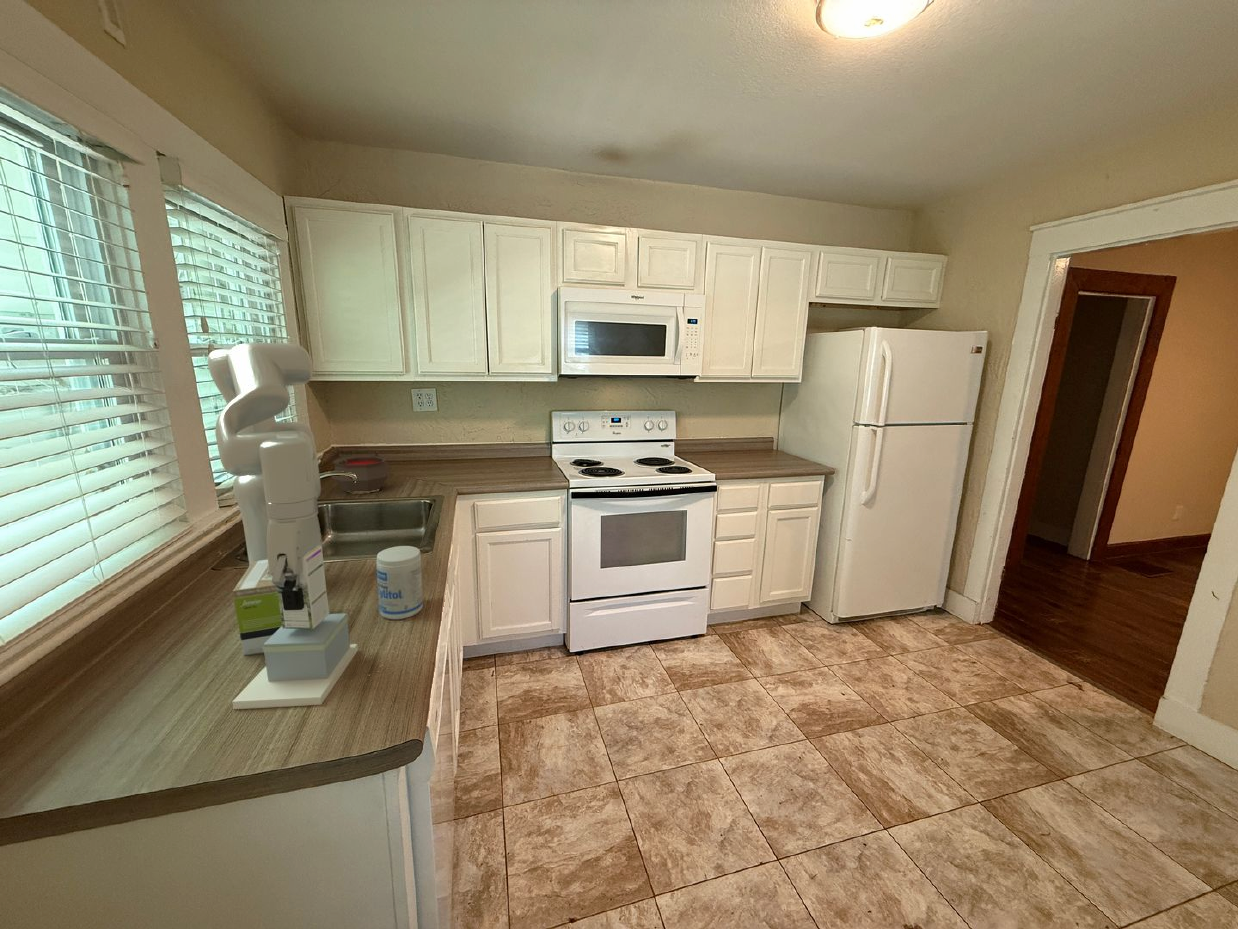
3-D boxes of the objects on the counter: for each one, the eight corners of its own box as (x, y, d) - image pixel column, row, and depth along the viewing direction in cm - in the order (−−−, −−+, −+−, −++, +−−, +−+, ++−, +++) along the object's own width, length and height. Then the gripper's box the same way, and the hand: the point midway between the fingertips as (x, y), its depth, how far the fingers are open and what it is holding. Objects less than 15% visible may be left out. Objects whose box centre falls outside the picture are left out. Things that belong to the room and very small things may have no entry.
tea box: (261, 620, 110) (252, 559, 107) (312, 612, 114) (305, 553, 111) (241, 657, 97) (230, 589, 94) (300, 647, 101) (292, 581, 98)
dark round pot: (356, 481, 227) (353, 447, 224) (404, 485, 224) (402, 450, 221) (319, 495, 204) (314, 457, 201) (371, 499, 201) (368, 460, 197)
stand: (284, 653, 98) (279, 613, 97) (357, 650, 100) (354, 610, 98) (233, 709, 83) (225, 662, 81) (321, 704, 85) (315, 658, 83)
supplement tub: (372, 621, 111) (367, 561, 108) (390, 600, 121) (385, 544, 117) (415, 621, 112) (411, 561, 109) (429, 601, 121) (426, 545, 118)
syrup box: (330, 613, 95) (323, 543, 91) (312, 630, 89) (304, 556, 86) (300, 613, 94) (291, 543, 91) (280, 630, 89) (271, 555, 85)
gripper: (295, 494, 95) (305, 579, 99) (238, 524, 78) (253, 626, 82) (336, 494, 95) (344, 578, 99) (289, 524, 79) (301, 624, 83)
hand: (303, 599), depth 91 cm, fingers closed on syrup box, 6 cm apart
